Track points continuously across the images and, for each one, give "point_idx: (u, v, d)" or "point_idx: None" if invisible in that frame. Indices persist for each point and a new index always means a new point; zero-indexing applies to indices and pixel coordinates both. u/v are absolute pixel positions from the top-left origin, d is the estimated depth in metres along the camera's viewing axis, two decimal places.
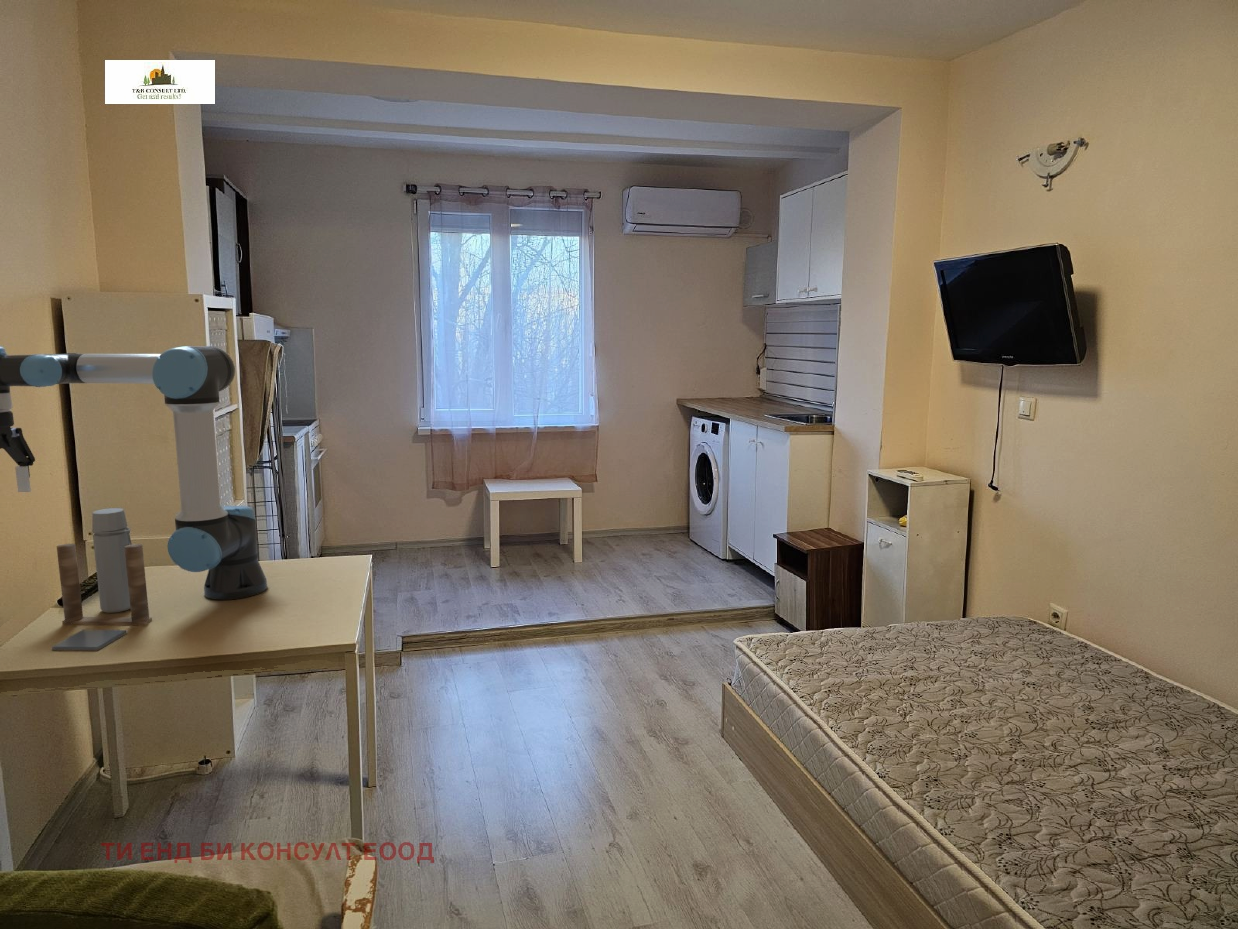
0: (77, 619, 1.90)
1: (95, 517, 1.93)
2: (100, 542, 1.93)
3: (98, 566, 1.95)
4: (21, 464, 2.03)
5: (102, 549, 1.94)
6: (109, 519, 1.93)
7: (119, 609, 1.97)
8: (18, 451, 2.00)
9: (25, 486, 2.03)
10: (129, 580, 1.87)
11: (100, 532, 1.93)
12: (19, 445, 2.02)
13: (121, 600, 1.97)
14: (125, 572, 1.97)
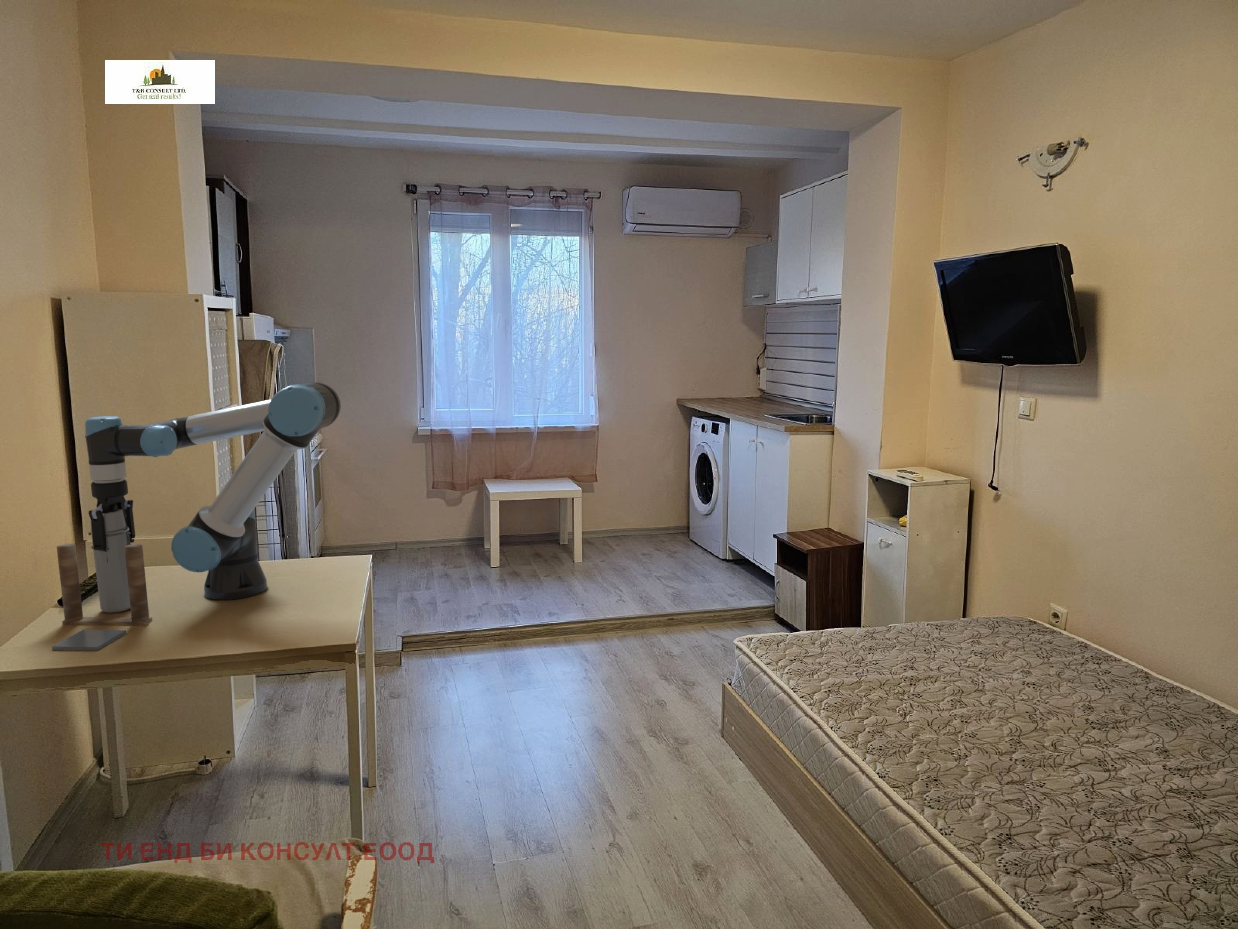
0: (77, 619, 1.90)
1: None
2: None
3: (97, 566, 1.94)
4: None
5: None
6: (108, 520, 1.93)
7: (119, 609, 1.97)
8: None
9: None
10: (129, 580, 1.87)
11: None
12: (126, 518, 2.02)
13: (120, 600, 1.97)
14: (124, 572, 1.97)
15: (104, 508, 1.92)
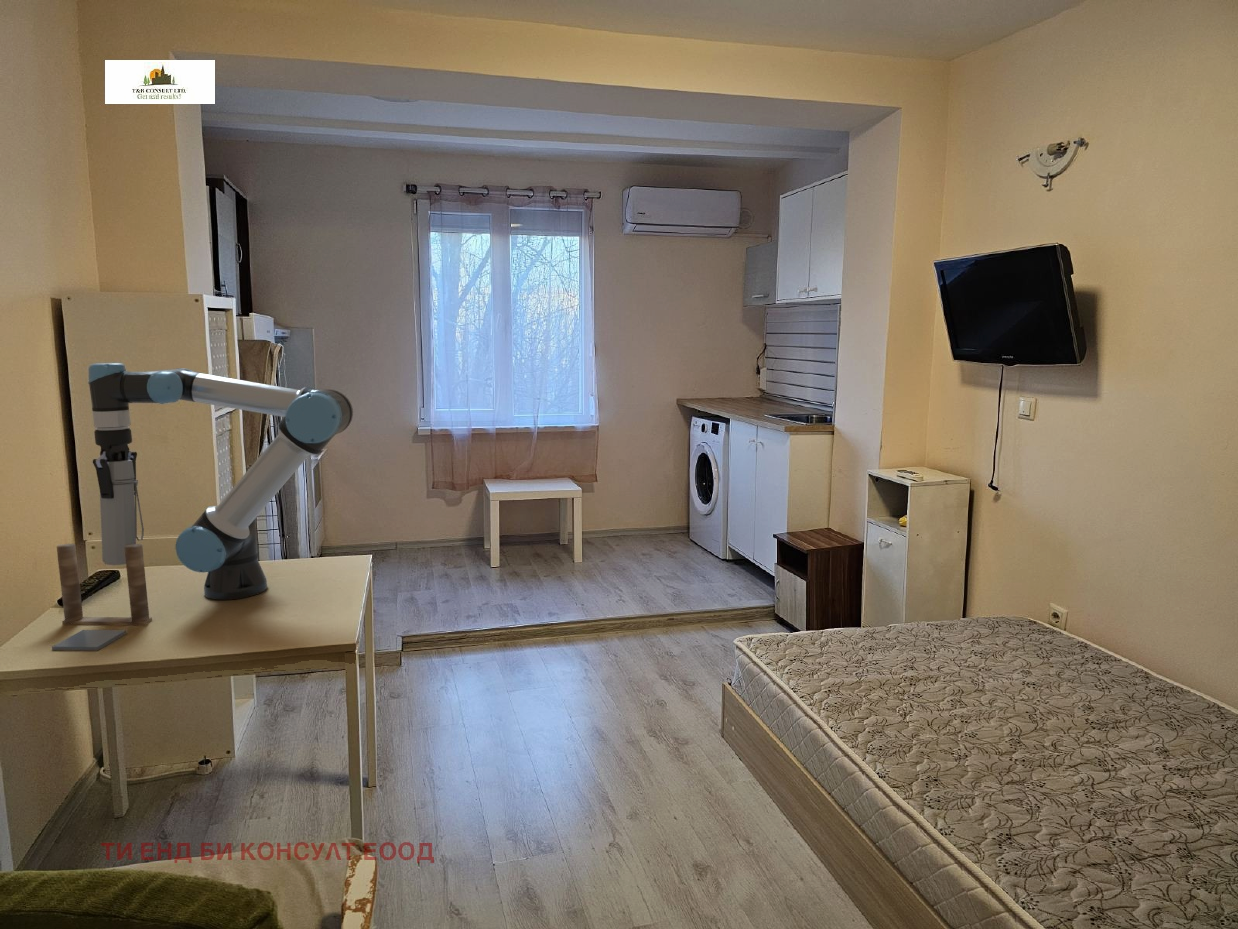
0: (77, 619, 1.90)
1: None
2: None
3: (102, 516, 1.92)
4: None
5: None
6: (115, 468, 1.91)
7: (120, 561, 1.93)
8: None
9: None
10: (129, 580, 1.87)
11: None
12: None
13: (122, 552, 1.93)
14: (128, 524, 1.94)
15: (108, 456, 1.89)
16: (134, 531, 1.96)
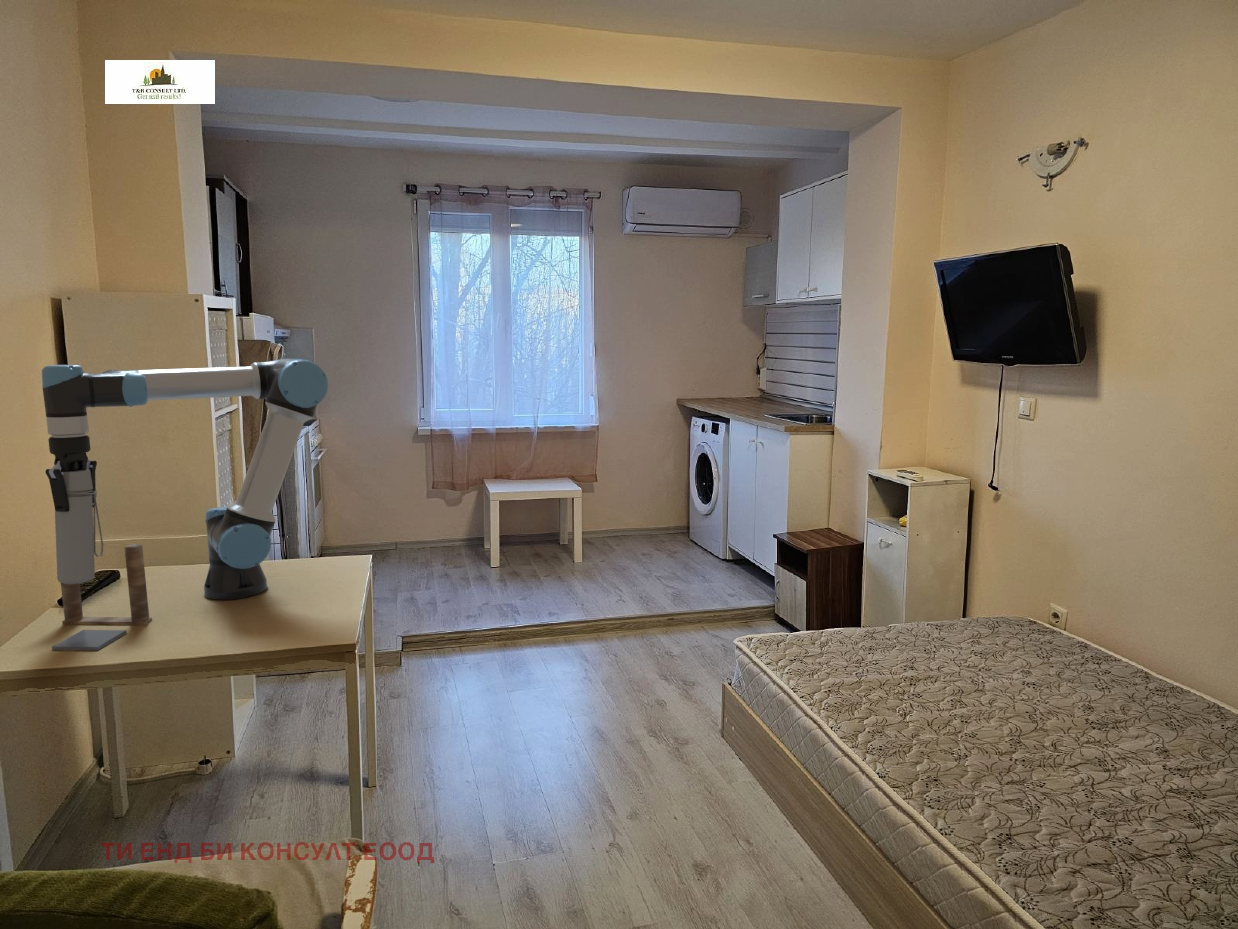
0: (77, 619, 1.90)
1: None
2: None
3: (56, 530, 1.77)
4: None
5: (61, 512, 1.76)
6: (71, 478, 1.76)
7: (76, 580, 1.78)
8: None
9: None
10: (129, 580, 1.87)
11: None
12: None
13: (78, 570, 1.78)
14: (86, 539, 1.79)
15: (63, 466, 1.74)
16: (92, 547, 1.81)
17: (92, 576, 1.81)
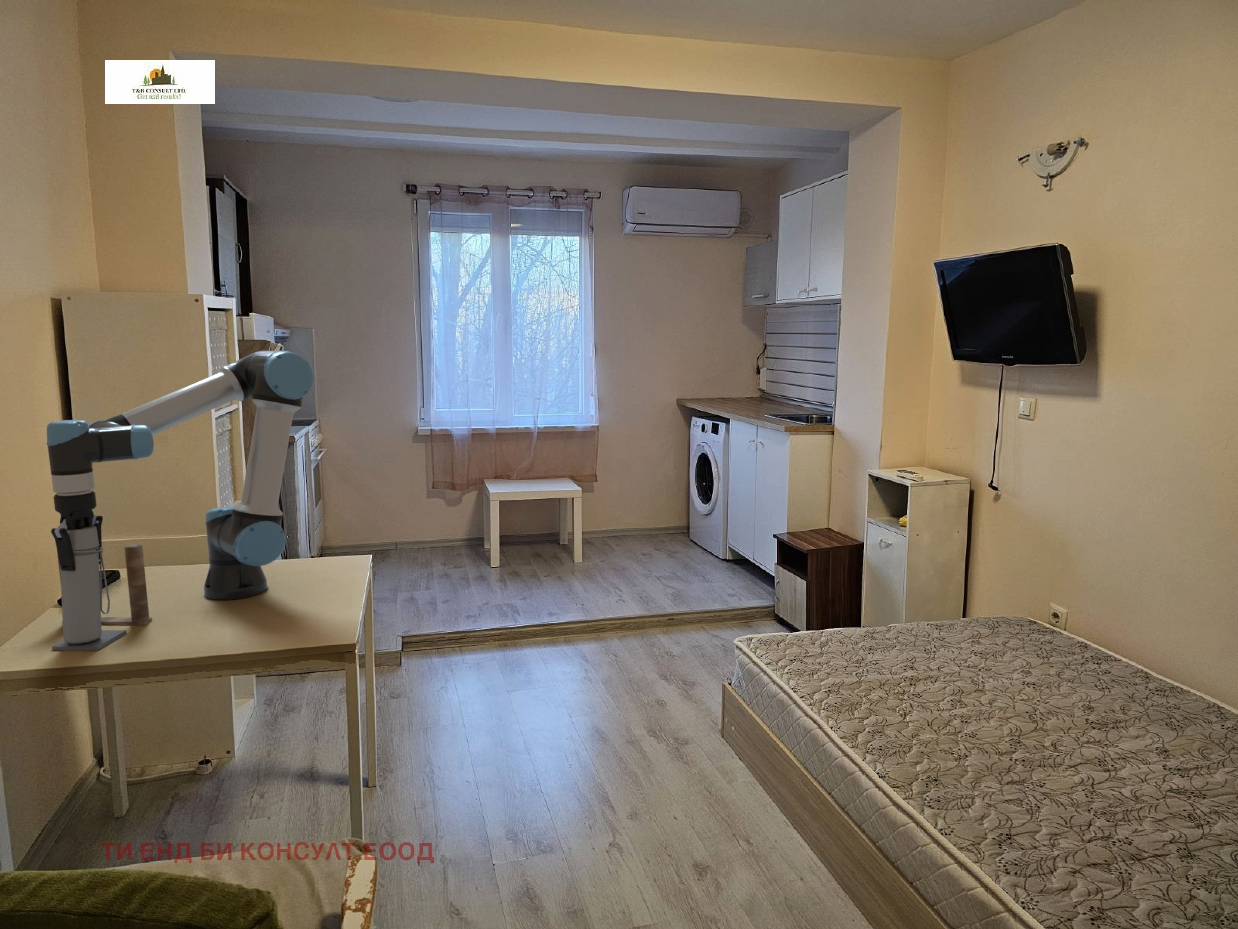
0: None
1: None
2: None
3: (62, 589, 1.73)
4: None
5: (67, 571, 1.72)
6: (77, 537, 1.72)
7: (82, 640, 1.74)
8: None
9: None
10: (129, 580, 1.87)
11: None
12: None
13: (85, 629, 1.74)
14: (92, 598, 1.75)
15: (69, 524, 1.70)
16: (99, 605, 1.77)
17: (99, 635, 1.77)
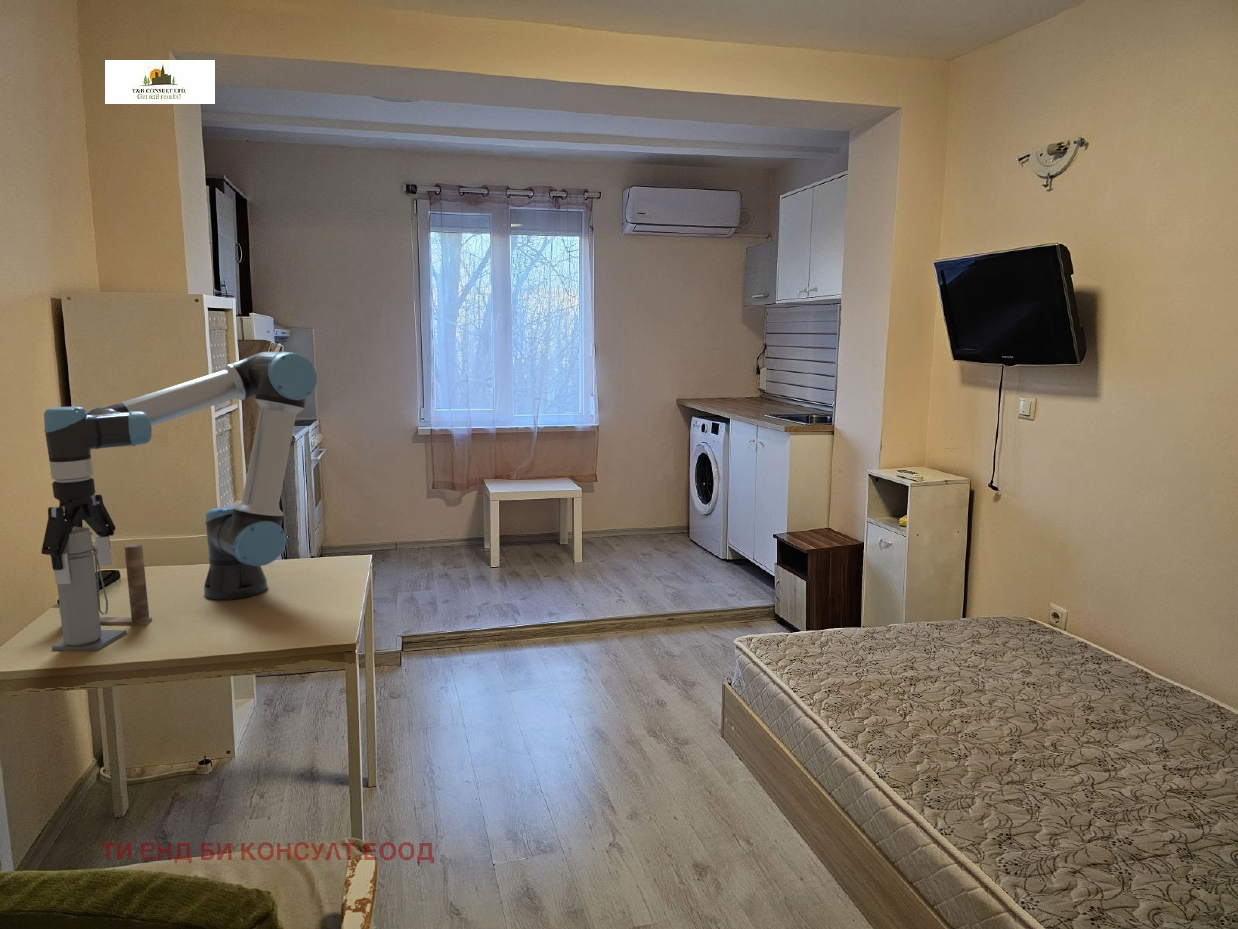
0: None
1: None
2: None
3: (59, 593, 1.72)
4: (101, 534, 1.82)
5: None
6: (70, 541, 1.70)
7: (82, 642, 1.74)
8: (99, 521, 1.79)
9: (106, 558, 1.82)
10: (129, 580, 1.87)
11: None
12: (99, 514, 1.81)
13: (84, 632, 1.74)
14: (90, 600, 1.74)
15: (67, 509, 1.70)
16: (97, 606, 1.76)
17: (99, 636, 1.77)
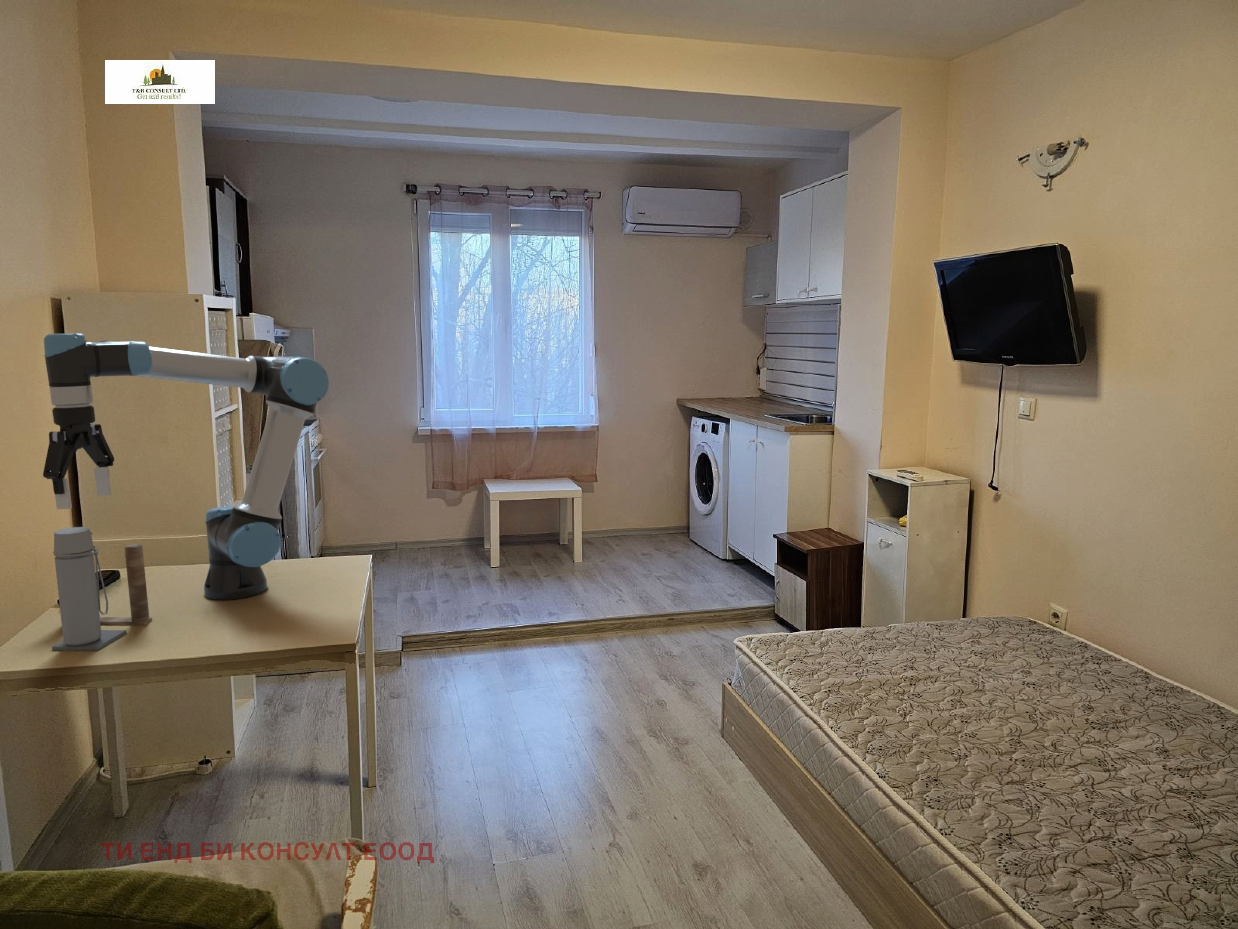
0: None
1: (56, 537, 1.70)
2: (61, 566, 1.71)
3: (59, 593, 1.72)
4: (100, 464, 1.83)
5: (63, 574, 1.71)
6: (71, 540, 1.70)
7: (82, 642, 1.74)
8: (98, 450, 1.80)
9: (105, 488, 1.83)
10: (129, 580, 1.87)
11: (61, 555, 1.70)
12: (98, 444, 1.82)
13: (84, 632, 1.74)
14: (90, 600, 1.74)
15: (68, 434, 1.70)
16: (97, 606, 1.76)
17: (99, 636, 1.77)
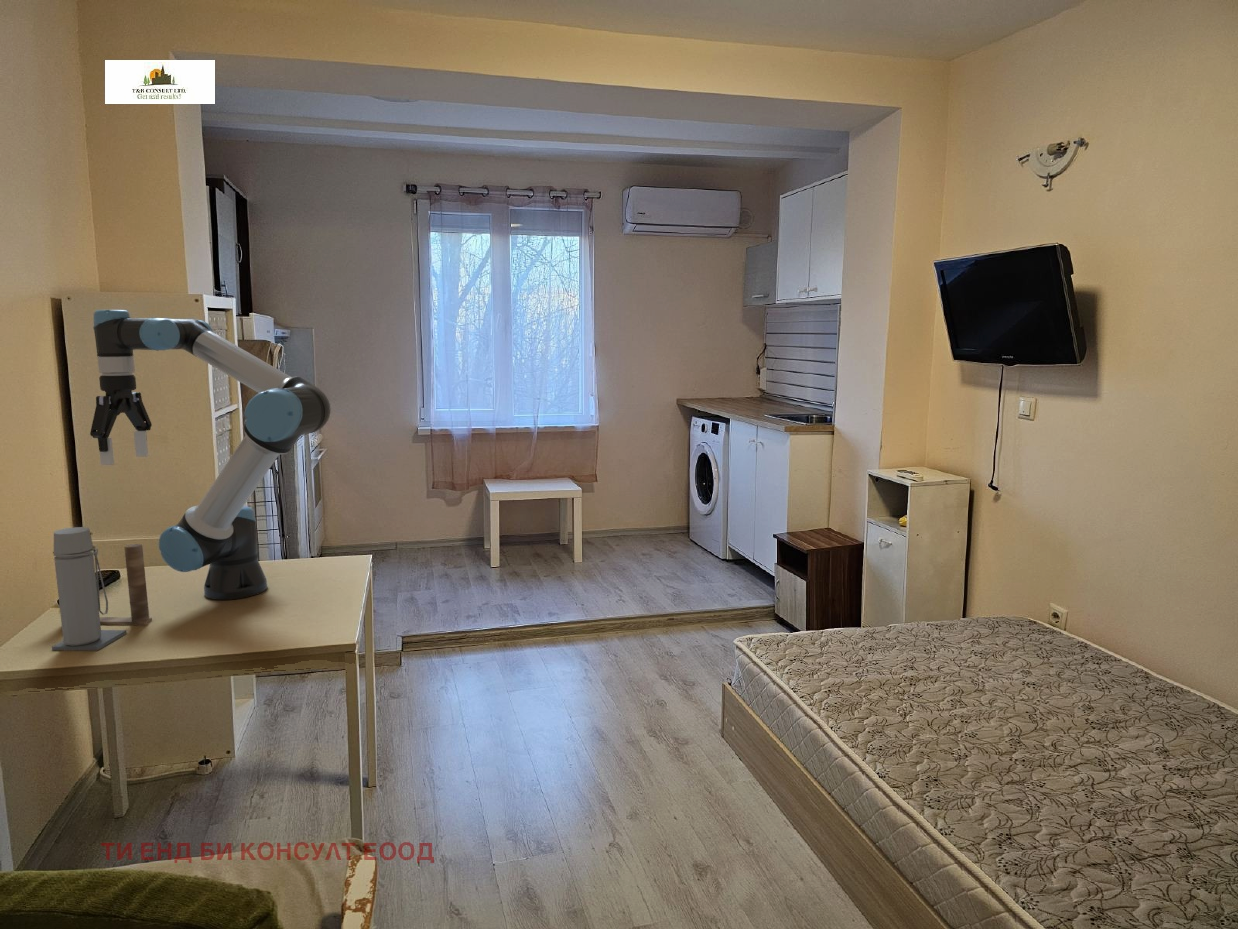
0: None
1: (55, 538, 1.70)
2: (60, 566, 1.71)
3: (59, 593, 1.72)
4: (139, 429, 2.04)
5: (62, 574, 1.71)
6: (70, 540, 1.70)
7: (82, 642, 1.74)
8: (138, 415, 2.02)
9: (143, 450, 2.05)
10: (129, 580, 1.87)
11: (60, 555, 1.70)
12: (138, 410, 2.03)
13: (84, 632, 1.74)
14: (90, 600, 1.74)
15: (112, 399, 1.92)
16: (97, 606, 1.76)
17: (99, 636, 1.77)
